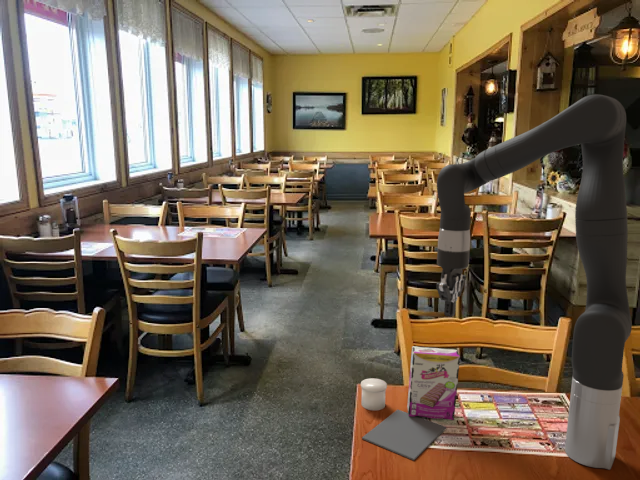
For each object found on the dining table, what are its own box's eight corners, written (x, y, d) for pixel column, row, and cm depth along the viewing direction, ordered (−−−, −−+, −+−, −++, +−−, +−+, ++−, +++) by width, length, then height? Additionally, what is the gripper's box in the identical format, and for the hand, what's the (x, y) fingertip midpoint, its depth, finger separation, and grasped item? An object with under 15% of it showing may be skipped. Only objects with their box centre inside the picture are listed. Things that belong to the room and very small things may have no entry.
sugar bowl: (391, 403, 133) (391, 383, 132) (377, 413, 128) (378, 392, 127) (369, 395, 137) (369, 376, 136) (355, 405, 132) (355, 385, 131)
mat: (446, 428, 122) (446, 426, 122) (413, 460, 109) (414, 458, 109) (397, 410, 129) (397, 409, 129) (362, 439, 117) (362, 437, 117)
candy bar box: (408, 417, 125) (412, 352, 123) (406, 408, 130) (410, 345, 128) (455, 421, 124) (460, 356, 122) (452, 411, 129) (457, 348, 127)
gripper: (457, 253, 118) (452, 326, 122) (478, 245, 129) (474, 312, 132) (427, 249, 123) (423, 319, 126) (450, 241, 133) (446, 306, 136)
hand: (449, 315), depth 129 cm, fingers closed
